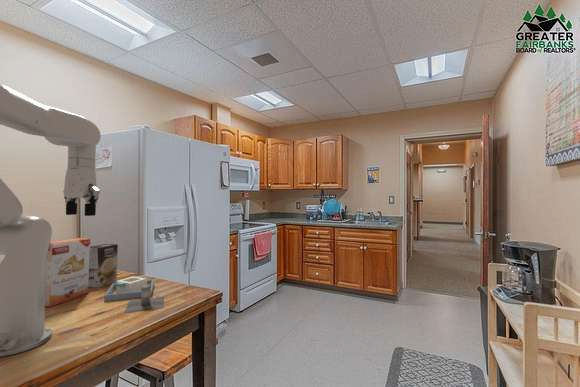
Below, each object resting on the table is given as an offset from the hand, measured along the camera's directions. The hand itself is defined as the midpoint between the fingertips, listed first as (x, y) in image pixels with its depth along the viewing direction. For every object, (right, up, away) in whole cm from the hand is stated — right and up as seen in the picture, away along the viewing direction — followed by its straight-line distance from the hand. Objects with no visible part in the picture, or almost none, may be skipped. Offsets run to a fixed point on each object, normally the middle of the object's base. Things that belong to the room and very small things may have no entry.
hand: (80, 215), depth 94 cm
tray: (+11, -31, +10) cm, 34 cm away
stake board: (+23, -31, -1) cm, 38 cm away
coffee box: (-8, -31, +22) cm, 39 cm away
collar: (+12, -30, +10) cm, 34 cm away
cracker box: (-9, -31, +5) cm, 32 cm away
